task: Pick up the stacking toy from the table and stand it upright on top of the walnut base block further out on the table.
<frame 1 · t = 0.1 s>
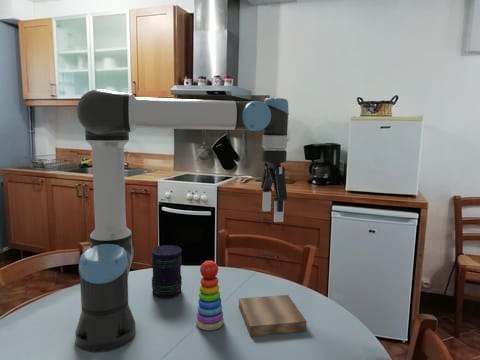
hand: (272, 216, 117), 28 cm above the table, tool pointing down, fingers open, 13 cm apart
walnut base: (270, 318, 108), on the table
stacking toy: (209, 324, 105), on the table
storage jar: (166, 292, 124), on the table
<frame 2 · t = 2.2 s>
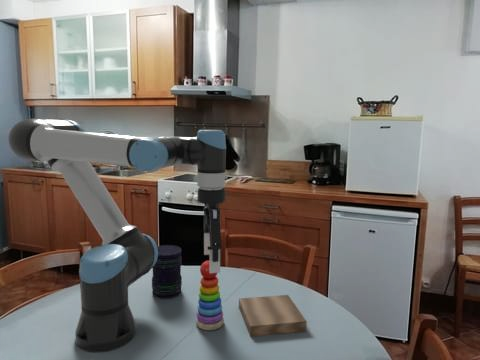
hand: (211, 262, 102), 18 cm above the table, tool pointing down, fingers open, 13 cm apart
nothing on the table moved.
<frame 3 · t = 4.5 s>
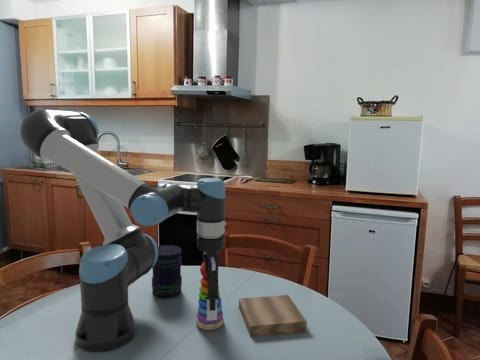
hand: (210, 312, 104), 4 cm above the table, tool pointing down, fingers closed on stacking toy, 7 cm apart
stacking toy: (209, 324, 105), on the table, touching gripper
everything else where it was.
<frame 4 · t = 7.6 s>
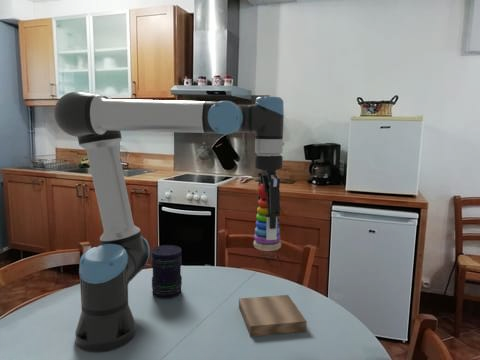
hand: (267, 235, 104), 26 cm above the table, tool pointing down, fingers closed on stacking toy, 7 cm apart
stacking toy: (267, 247, 104), point 22 cm above the table, touching gripper
everything else where it was.
when the fingers open (9 cm above the table, at t = 10.8 s): stacking toy drops 2 cm, resting on walnut base.
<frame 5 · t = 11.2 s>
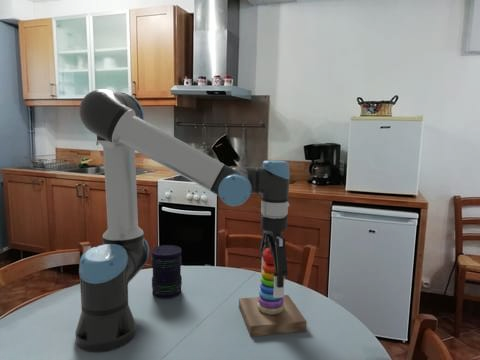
hand: (271, 286, 107), 10 cm above the table, tool pointing down, fingers open, 12 cm apart
stacking toy: (270, 309, 108), point 3 cm above the table, touching walnut base
everything else where it was.
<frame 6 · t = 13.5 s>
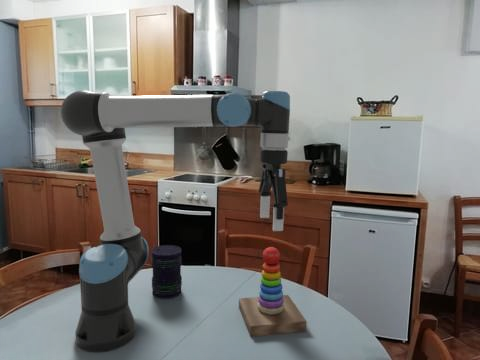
hand: (270, 223, 104), 29 cm above the table, tool pointing down, fingers open, 13 cm apart
nothing on the table moved.
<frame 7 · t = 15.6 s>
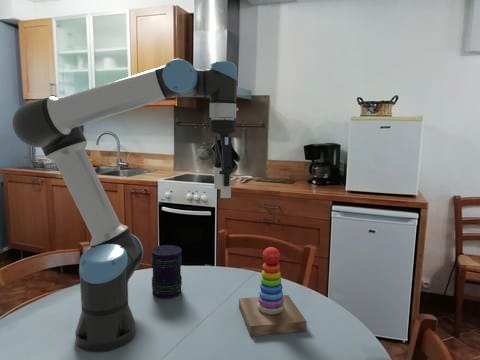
hand: (221, 193, 107), 37 cm above the table, tool pointing down, fingers open, 13 cm apart
nothing on the table moved.
at the end: stacking toy inside the target area on the walnut base (0.1 cm from its centre), point 2.8 cm above the walnut base's base; stacking toy tilted 0°; the gripper is holding nothing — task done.
